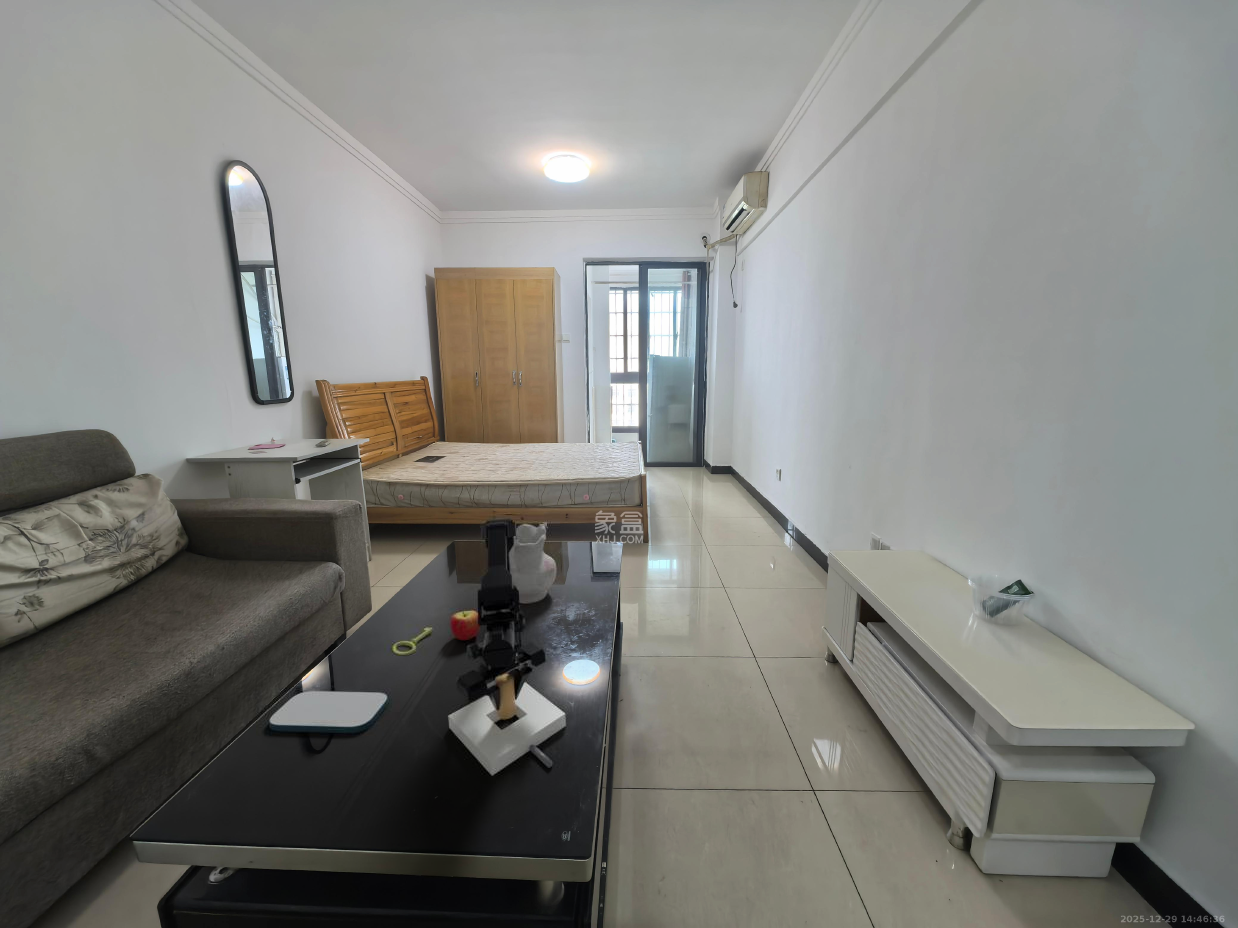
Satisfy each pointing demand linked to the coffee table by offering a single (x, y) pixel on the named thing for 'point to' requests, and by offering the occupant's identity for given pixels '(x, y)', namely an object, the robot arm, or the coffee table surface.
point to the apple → (464, 624)
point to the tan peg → (506, 696)
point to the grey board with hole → (507, 729)
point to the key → (411, 643)
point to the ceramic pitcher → (531, 564)
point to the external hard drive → (329, 712)
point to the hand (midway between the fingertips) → (505, 704)
